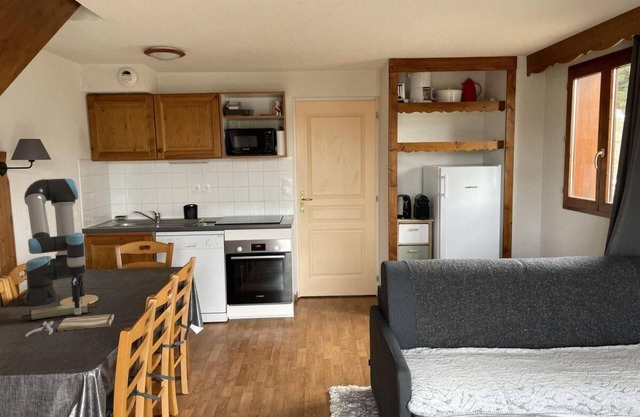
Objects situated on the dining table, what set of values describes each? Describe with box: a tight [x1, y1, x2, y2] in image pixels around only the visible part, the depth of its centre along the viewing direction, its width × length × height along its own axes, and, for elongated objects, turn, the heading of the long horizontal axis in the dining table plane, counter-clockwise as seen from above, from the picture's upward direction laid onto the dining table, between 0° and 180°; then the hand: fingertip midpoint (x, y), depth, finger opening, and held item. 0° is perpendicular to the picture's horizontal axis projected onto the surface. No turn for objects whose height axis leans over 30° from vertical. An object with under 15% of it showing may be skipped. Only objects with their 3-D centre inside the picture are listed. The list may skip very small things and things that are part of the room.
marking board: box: [56, 313, 115, 332], centre depth 211 cm, size 13×21×2 cm, turn 106°
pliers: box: [24, 320, 54, 338], centre depth 205 cm, size 10×2×15 cm
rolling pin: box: [20, 302, 99, 321], centre depth 222 cm, size 32×6×5 cm, turn 115°
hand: (79, 312), depth 225 cm, fingers closed on rolling pin, 6 cm apart
